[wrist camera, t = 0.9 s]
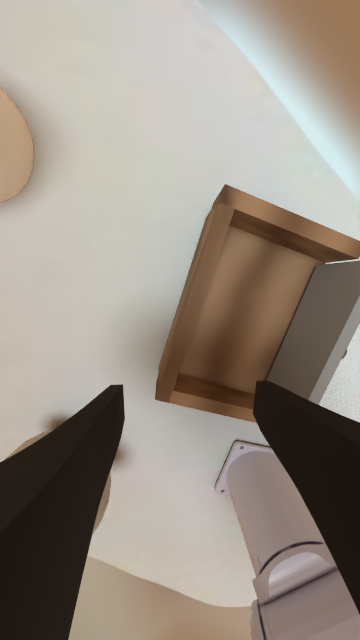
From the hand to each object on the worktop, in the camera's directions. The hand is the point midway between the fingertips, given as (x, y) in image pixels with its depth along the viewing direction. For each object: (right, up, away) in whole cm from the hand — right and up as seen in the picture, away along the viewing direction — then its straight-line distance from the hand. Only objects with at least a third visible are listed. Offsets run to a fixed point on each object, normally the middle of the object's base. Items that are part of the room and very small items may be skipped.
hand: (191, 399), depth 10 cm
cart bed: (+5, +5, +10) cm, 12 cm away
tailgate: (+11, +3, +9) cm, 14 cm away
